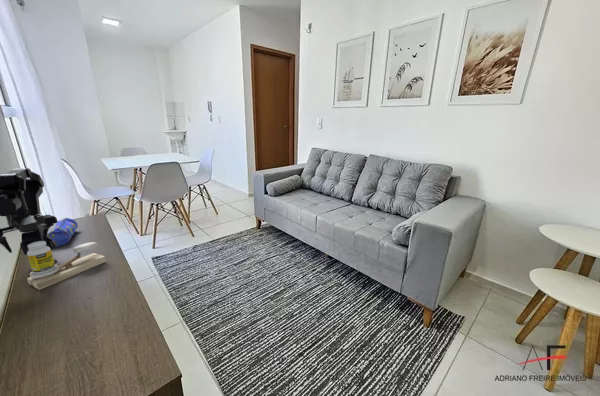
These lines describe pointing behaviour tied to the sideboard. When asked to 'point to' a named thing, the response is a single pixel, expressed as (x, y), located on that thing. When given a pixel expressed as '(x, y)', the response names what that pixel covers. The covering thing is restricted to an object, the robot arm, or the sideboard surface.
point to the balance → (68, 267)
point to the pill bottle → (40, 257)
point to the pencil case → (63, 231)
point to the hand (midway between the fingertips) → (28, 247)
